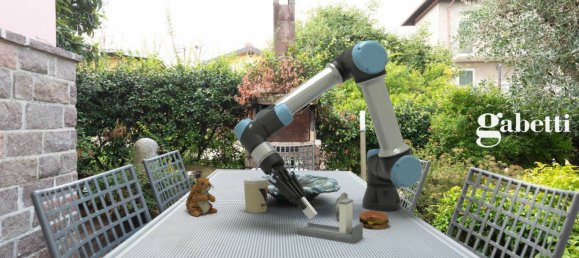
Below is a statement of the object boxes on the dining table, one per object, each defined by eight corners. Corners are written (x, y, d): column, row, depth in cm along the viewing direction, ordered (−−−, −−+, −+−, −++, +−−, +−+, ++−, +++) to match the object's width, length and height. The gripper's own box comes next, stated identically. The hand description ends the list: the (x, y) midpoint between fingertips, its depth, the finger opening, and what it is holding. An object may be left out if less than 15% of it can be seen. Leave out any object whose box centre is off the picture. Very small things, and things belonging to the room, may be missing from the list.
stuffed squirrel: (196, 217, 149) (196, 180, 149) (177, 211, 160) (177, 176, 159) (220, 213, 156) (220, 177, 155) (201, 207, 166) (201, 174, 166)
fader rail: (297, 234, 128) (297, 219, 128) (308, 229, 134) (308, 215, 134) (353, 243, 119) (353, 227, 119) (362, 237, 125) (362, 222, 125)
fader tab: (338, 234, 122) (339, 201, 122) (345, 230, 127) (346, 198, 126) (345, 236, 121) (346, 202, 121) (352, 231, 125) (353, 199, 125)
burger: (381, 222, 144) (382, 208, 144) (393, 229, 135) (393, 214, 135) (354, 223, 142) (354, 209, 142) (364, 230, 133) (364, 216, 133)
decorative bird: (331, 221, 145) (331, 200, 145) (337, 211, 160) (337, 192, 160) (347, 222, 144) (347, 200, 143) (351, 212, 159) (351, 192, 159)
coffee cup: (264, 214, 155) (264, 181, 155) (240, 212, 157) (240, 180, 156) (271, 208, 164) (271, 177, 164) (247, 207, 166) (247, 177, 166)
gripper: (272, 164, 144) (315, 219, 136) (249, 168, 133) (295, 228, 125) (285, 150, 141) (330, 205, 133) (263, 152, 130) (311, 212, 122)
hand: (313, 216), depth 129 cm, fingers closed
